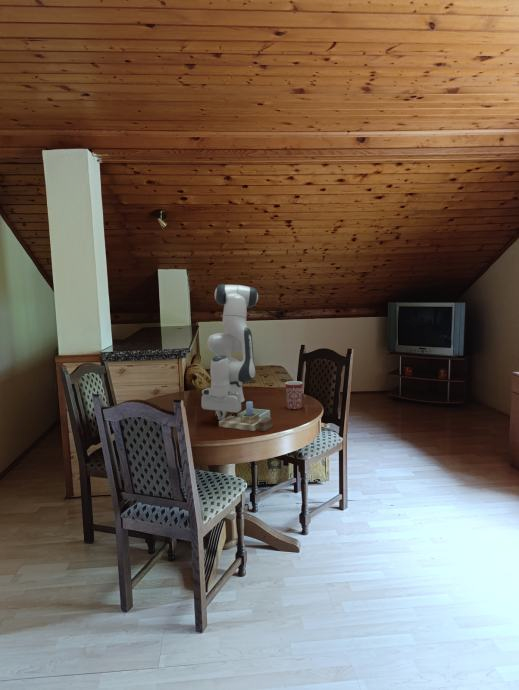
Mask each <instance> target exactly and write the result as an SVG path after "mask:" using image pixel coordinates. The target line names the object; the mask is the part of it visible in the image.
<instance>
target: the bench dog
mask: <svg viewBox="0 0 519 690" xmlns="http://www.w3.org/2000/svg"><path fill="white" fill-rule="evenodd" d="M272 428H273V418H272V417H270V418H267V417H266V418H264V419H263V420H261V421H259V422H258V429H257V430H258V432H267V431H268V430H269V429H272Z"/></svg>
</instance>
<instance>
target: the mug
mask: <svg viewBox="0 0 519 690" xmlns="http://www.w3.org/2000/svg"><path fill="white" fill-rule="evenodd" d="M284 384H285V393H286V407H287V409H288V410H291V409H297V410H301V409H300V408H302V400H303V399H302V397H303V396H302V395H303V382H302V381H298V380H297V381H296V380H292V381H291V380H290V381H286V382H285V383H284Z"/></svg>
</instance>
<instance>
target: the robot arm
mask: <svg viewBox="0 0 519 690" xmlns="http://www.w3.org/2000/svg"><path fill="white" fill-rule="evenodd" d="M216 286H217V287H216V288H215V290H214V300H215V302H216V303H217V304H218V305H220V306H222V307H223V312H222V313H223V315H222V324H223V326H222V327H223V329H224V330H225V332H217V333H213V334H210V335H209V337H208V338H207V343H206V344H207V348H208V350H209V351H210V352H211V353H213V354H214V355H215V356H214V357H212V358H211V361H210V372H209V373H210V378H211V382H210V387H207V388H204V389H202V390H201V394H202V395H201V400H200V401H201V402H200V403H201V405H200V406H201V408H202V409H203V410H210V411H215V414H217V416H218V418H217V419H218V420H219V421H220V420H222V419H224V418H225V416H226V414H227V412H232V413H237V414H238V413H240V412H242V403H243V402H245V400H246V398H245V397H244V392H243V383H245V384H249V383H250V382H252V381H253V379H255V376H256V374H257V373H256V372H257V371H256V366H255V361H254V360H255V359H254V357H255V356H254V343H253V334H252V331H251V329H250V328H249V327H248V324H247V313H248V312H247V308H254V307H255V306H256V304H257V302H258V300H259V294H258V290H257V288H255V287H254V286H246V285H241V284H225V283H223V284H222V283H220V284H218V285H216ZM232 352H234V353H235V352H242V360H241V361H239V360H238V359H237V358H235V357H232V355H231V354H232ZM221 411H222V413H223V415H221V414H220V412H221Z"/></svg>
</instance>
